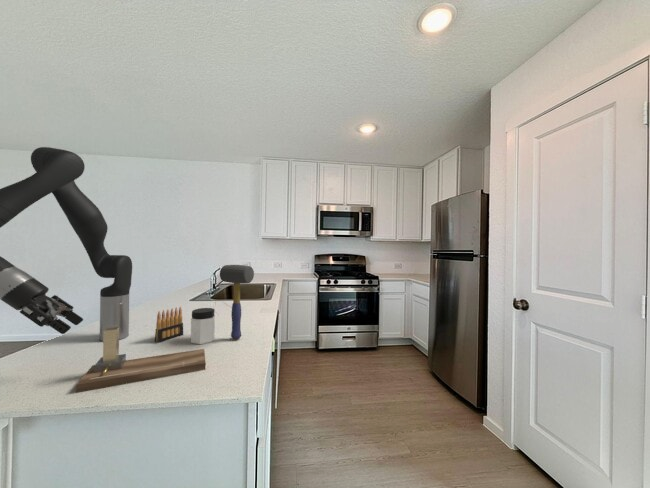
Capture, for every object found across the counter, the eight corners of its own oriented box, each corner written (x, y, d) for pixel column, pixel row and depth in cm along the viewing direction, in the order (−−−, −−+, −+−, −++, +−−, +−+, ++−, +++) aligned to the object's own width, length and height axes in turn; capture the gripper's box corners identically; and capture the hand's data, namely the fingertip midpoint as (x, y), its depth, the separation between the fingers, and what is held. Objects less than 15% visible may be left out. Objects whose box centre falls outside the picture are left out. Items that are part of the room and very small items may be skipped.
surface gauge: (101, 364, 79) (101, 327, 79) (125, 360, 81) (126, 324, 82) (89, 378, 70) (90, 337, 70) (117, 374, 73) (118, 334, 73)
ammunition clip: (157, 343, 101) (158, 311, 101) (154, 342, 102) (155, 311, 102) (183, 334, 111) (183, 306, 111) (180, 334, 112) (181, 305, 112)
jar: (185, 342, 102) (186, 311, 102) (201, 335, 110) (201, 307, 110) (204, 345, 99) (205, 313, 99) (219, 338, 107) (219, 308, 107)
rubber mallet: (254, 338, 108) (255, 264, 108) (243, 344, 101) (244, 265, 101) (229, 334, 112) (230, 263, 112) (216, 340, 105) (218, 264, 105)
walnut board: (92, 372, 78) (92, 365, 78) (204, 354, 91) (204, 348, 91) (76, 392, 67) (76, 384, 67) (205, 369, 80) (205, 362, 80)
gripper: (15, 280, 64) (76, 322, 69) (45, 274, 77) (95, 310, 81) (-18, 304, 61) (48, 346, 66) (19, 294, 74) (72, 329, 79)
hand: (74, 326), depth 74 cm, fingers open, 8 cm apart
